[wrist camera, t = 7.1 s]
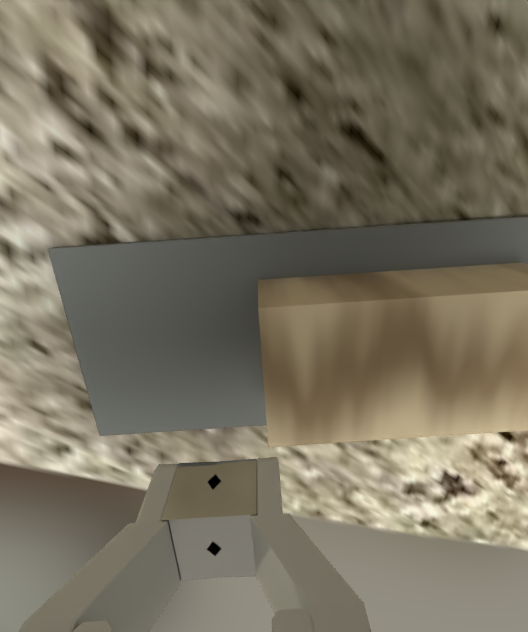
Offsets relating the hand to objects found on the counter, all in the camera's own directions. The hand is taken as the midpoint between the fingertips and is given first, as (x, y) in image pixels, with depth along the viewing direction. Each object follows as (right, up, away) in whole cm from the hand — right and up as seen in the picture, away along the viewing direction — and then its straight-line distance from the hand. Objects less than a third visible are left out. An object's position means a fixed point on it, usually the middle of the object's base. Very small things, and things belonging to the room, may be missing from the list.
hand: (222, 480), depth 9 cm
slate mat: (+5, +3, +9) cm, 10 cm away
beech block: (+1, +2, +6) cm, 7 cm away
